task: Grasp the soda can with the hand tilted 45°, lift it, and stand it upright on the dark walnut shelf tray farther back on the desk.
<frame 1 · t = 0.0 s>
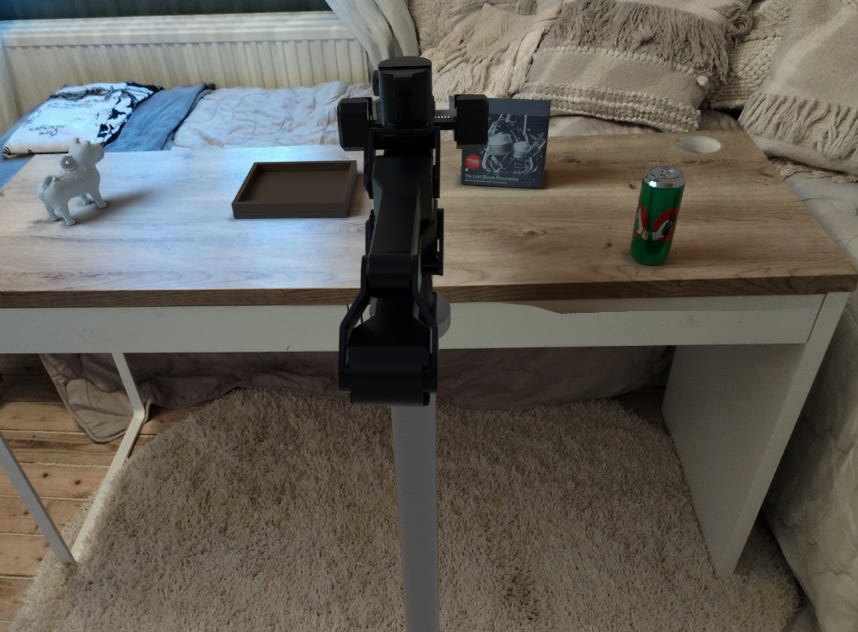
hand: (416, 100, 95), 18 cm above the table, tool horizontal, fingers open, 9 cm apart
soda can: (647, 258, 94), on the table
small box: (502, 179, 115), on the table
dog figurine: (83, 210, 115), on the table
shelf tray: (298, 195, 115), on the table
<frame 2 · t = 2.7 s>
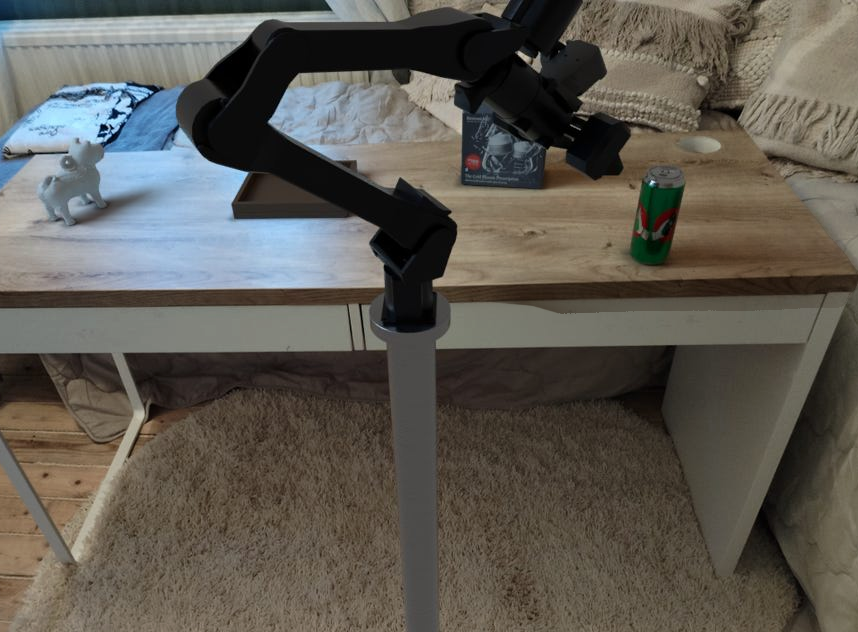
hand: (594, 158, 86), 14 cm above the table, tool tilted 50°, fingers open, 9 cm apart
nothing on the table moved.
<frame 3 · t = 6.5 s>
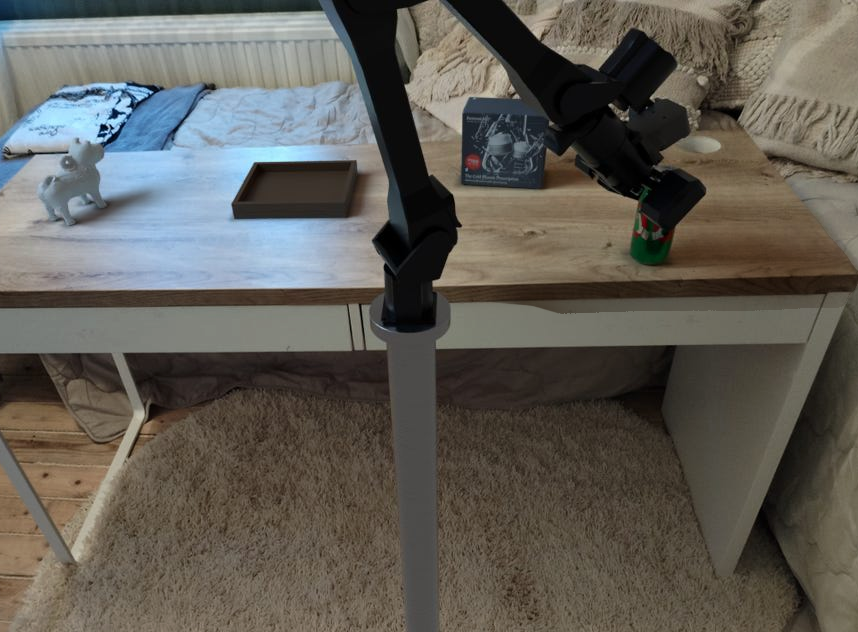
hand: (666, 210, 90), 7 cm above the table, tool tilted 45°, fingers closed on soda can, 5 cm apart
soda can: (647, 258, 94), on the table, touching gripper
everything else where it was.
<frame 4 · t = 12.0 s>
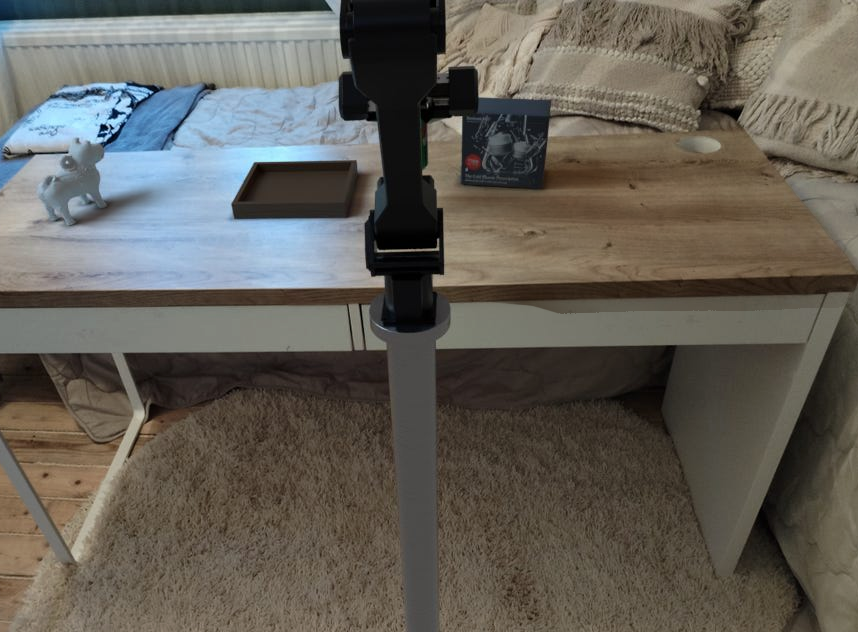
hand: (410, 121, 104), 12 cm above the table, tool tilted 45°, fingers closed on soda can, 5 cm apart
soda can: (411, 168, 107), point 6 cm above the table, touching gripper
everything else where it was.
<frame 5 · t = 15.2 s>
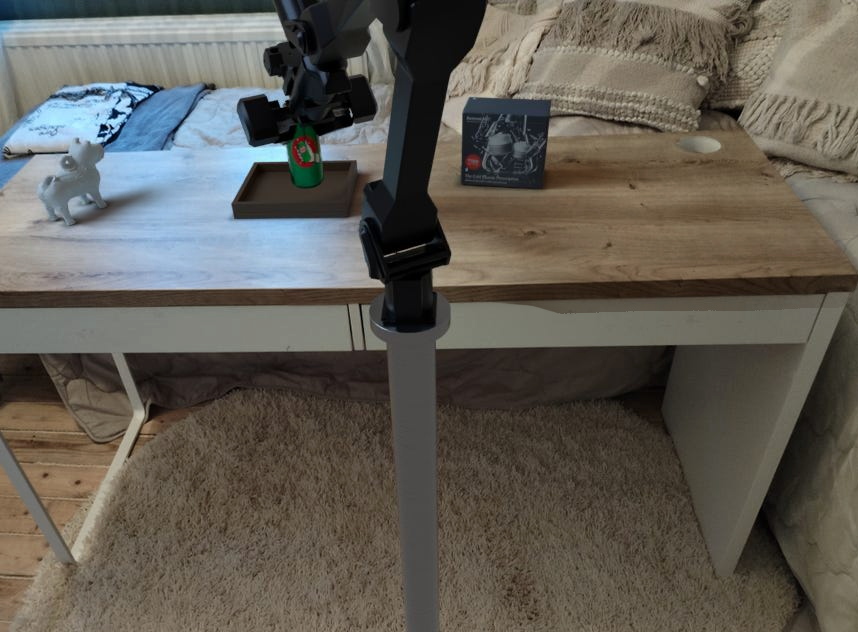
hand: (299, 138, 104), 11 cm above the table, tool tilted 45°, fingers closed on soda can, 5 cm apart
soda can: (308, 184, 108), point 4 cm above the table, touching gripper
everything else where it was.
when the fingers open (8 cm above the table, at t = 17.6 s): soda can stays where it is, resting on shelf tray.
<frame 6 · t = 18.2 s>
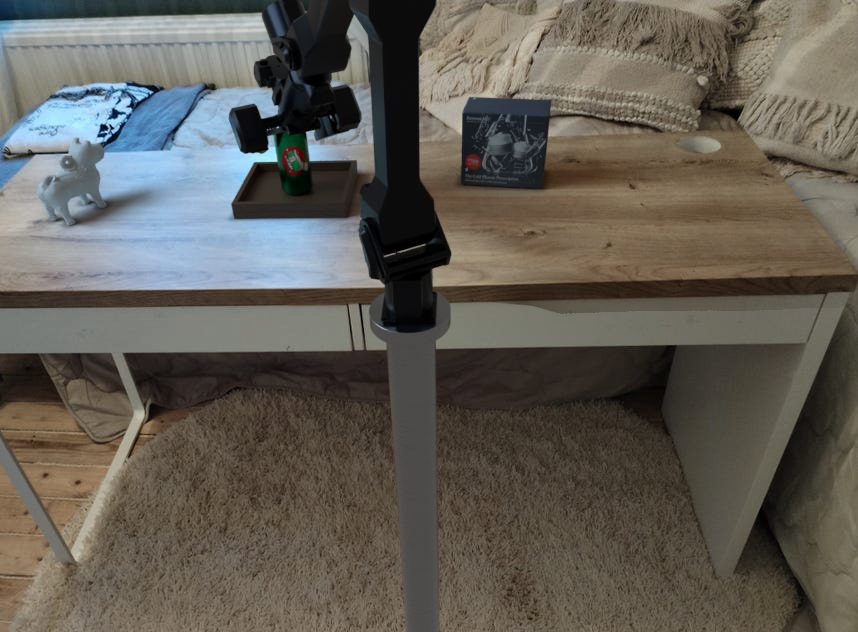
hand: (288, 144, 110), 8 cm above the table, tool tilted 45°, fingers open, 9 cm apart
soda can: (298, 191, 114), point 1 cm above the table, touching shelf tray
everything else where it was.
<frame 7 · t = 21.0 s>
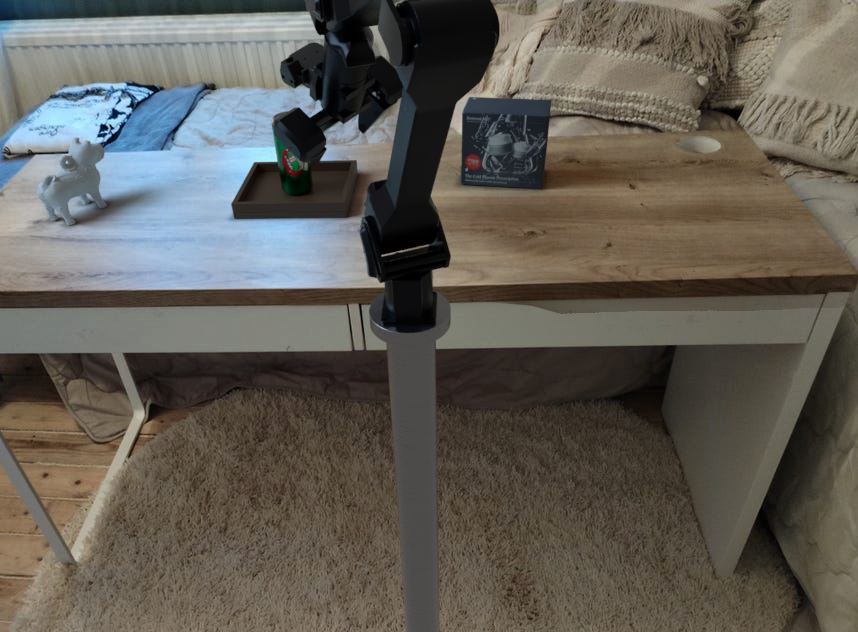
hand: (337, 147, 100), 11 cm above the table, tool tilted 30°, fingers open, 9 cm apart
nothing on the table moved.
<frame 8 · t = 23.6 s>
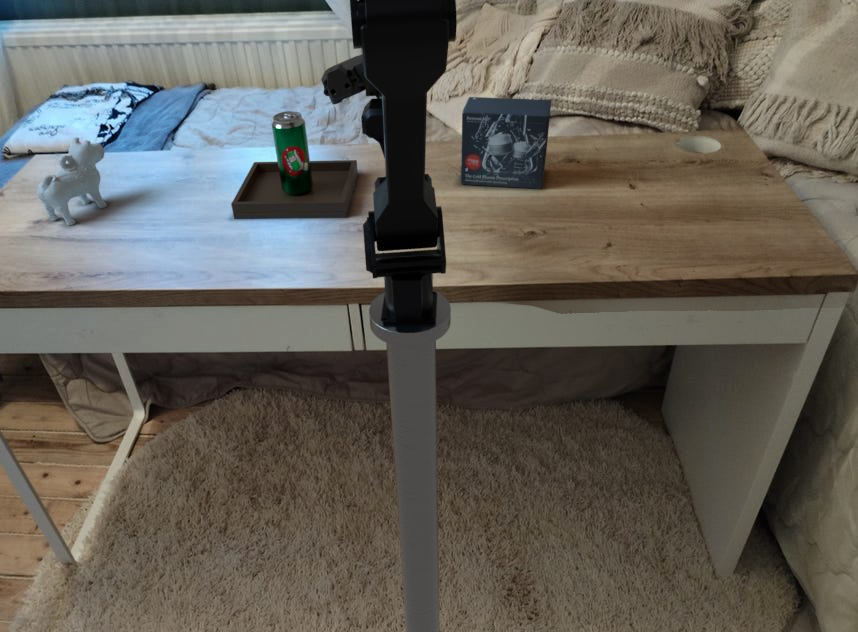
hand: (397, 162, 91), 13 cm above the table, tool pointing down, fingers open, 9 cm apart
nothing on the table moved.
at the end: soda can inside the target area in the shelf tray (0.1 cm from its centre), point 0.8 cm above the shelf tray's base; soda can tilted 0°; the gripper is holding nothing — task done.
